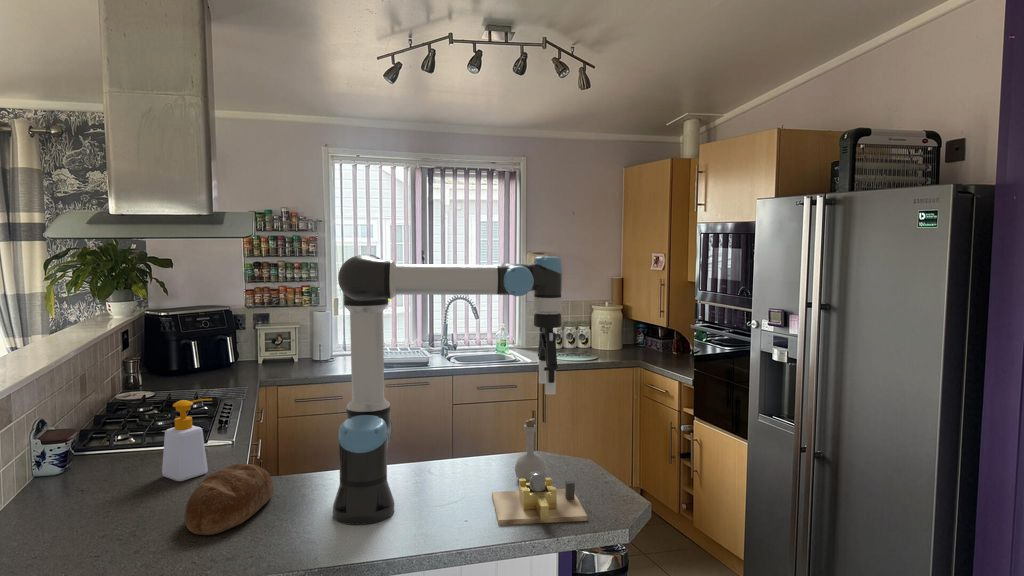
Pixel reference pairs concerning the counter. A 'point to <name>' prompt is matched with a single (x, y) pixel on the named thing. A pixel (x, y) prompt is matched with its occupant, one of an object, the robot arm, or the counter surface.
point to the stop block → (569, 490)
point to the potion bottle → (529, 455)
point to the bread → (227, 498)
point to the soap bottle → (184, 447)
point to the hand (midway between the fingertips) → (546, 388)
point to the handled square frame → (538, 498)
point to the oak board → (513, 513)
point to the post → (537, 481)
